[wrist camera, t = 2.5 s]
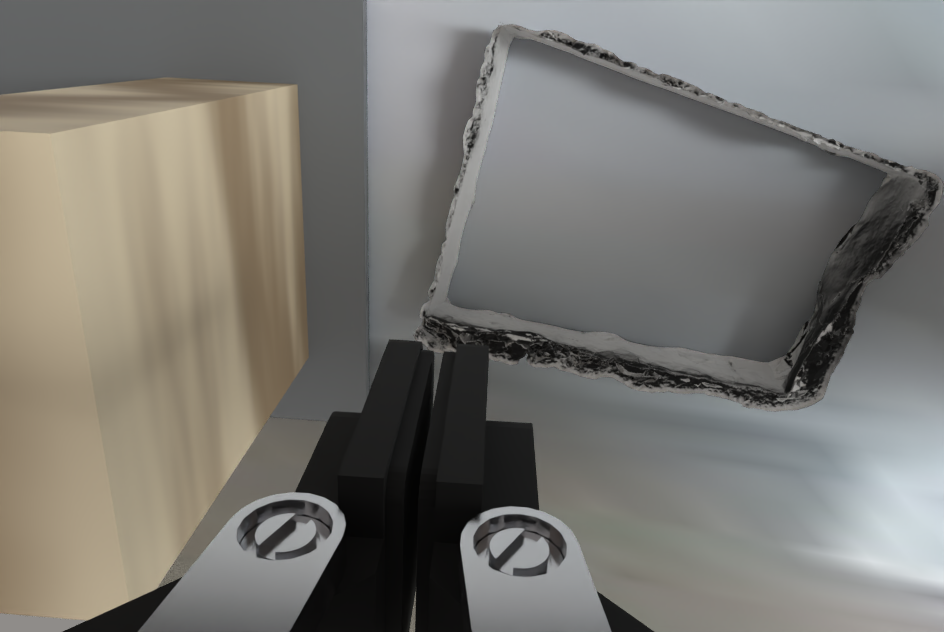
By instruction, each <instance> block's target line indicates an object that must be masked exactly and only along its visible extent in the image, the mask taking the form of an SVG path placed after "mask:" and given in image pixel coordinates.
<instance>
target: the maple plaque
mask: <svg viewBox="0 0 944 632" xmlns="http://www.w3.org/2000/svg"><path fill="white" fill-rule="evenodd" d="M308 358H309V349H308V325H307V301H306V277H305V254H304V230H303V206H302V182H301V158H300V134H299V110H298V86H297V84H281V83H263V82H244V81H225V80H207V79H188V78H170V77H165V78H155V79H146V80H136V81H127V82H117V83H108V84H98V85H89V86H79V87H70V88H60V89H51V90H41V91H31V92H22V93H12V94H3V95H0V613H4V614H5V613H6V614H16V615H28V616H40V617H52V618H64V619H75V620H90V619H92V618H94V617H96V616H98V615H101V614H103V613H105V612H107V611H109V610H111V609H114V608H116V607H118V606H120V605H122V604H125V603H127V602H129V601H131V600H133V599H136V598H138V597H140V596H142V595H144V594H147V593H149V592H151V591H153V590H155V589H157V587H158V586H159V584H160V583H161V581H162V580H163V578H164V577H165V575H166V574H167V572H168V571H169V569H170V568H171V566H172V565H173V563H174V562H175V560H176V559H177V557H178V555H179V554H180V552H181V551H182V549H183V548H184V546H185V545H186V543H187V542H188V540H189V539H190V537H191V536H192V534H193V533H194V531H195V530H196V528H197V527H198V525H199V524H200V522H201V520H202V519H203V517H204V516H205V514H206V513H207V511H208V510H209V508H210V507H211V505H212V504H213V502H214V501H215V499H216V498H217V496H218V495H219V493H220V492H221V490H222V489H223V487H224V485H225V484H226V482H227V481H228V479H229V478H230V476H231V475H232V473H233V472H234V470H235V469H236V467H237V466H238V464H239V463H240V461H241V460H242V458H243V457H244V455H245V453H246V452H247V450H248V449H249V447H250V446H251V444H252V443H253V441H254V440H255V438H256V437H257V435H258V434H259V432H260V431H261V429H262V428H263V426H264V425H265V423H266V422H267V420H268V418H269V417H270V415H271V414H272V412H273V411H274V409H275V408H276V406H277V405H278V403H279V402H280V400H281V399H282V397H283V396H284V394H285V393H286V391H287V390H288V388H289V387H290V385H291V383H292V382H293V380H294V379H295V377H296V376H297V374H298V373H299V371H300V370H301V368H302V367H303V365H304V364H305V362H306V361H307V359H308Z"/></svg>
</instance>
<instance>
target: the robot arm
mask: <svg viewBox="0 0 944 632" xmlns="http://www.w3.org/2000/svg"><path fill="white" fill-rule="evenodd" d="M488 362H489V346H488V345H472V344H457V348H456V352H447V351H444V353H443V359H442V364H441V369H440V374H439V380H438V385H437V390H436V395H435V401H434V406H433V388H434V351H430V350H423V344H422V342H421V341H405V340H389V341H388V344H387V347H386V349H385V352H384V354H383V357H382V360H381V362H380V365H379V368H378V370H377V373H376V375H375V378H374V381H373V383H372V386H371V389H370V391H369V394H368V396H367V399H366V402H365V404H364V407H363V410H362V412H361V413H358V412H342V411H334V412H333V413H332V414H331V416H330V418H329V420H328V422H327V424H326V426H325V428H324V431H323V433H322V435H321V437H320V439H319V441H318V444H317V446H316V448H315V450H314V452H313V454H312V457H311V459H310V461H309V463H308V465H307V467H306V470H305V472H304V474H303V476H302V478H301V481H300V483H299V485H298V487H297V489H296V491H295V492H290V493H282V494H274V495H271V496H268V497H265V498H261V499H258V500H256V501H254V502H252V503H250V504H249V505H247V506H245V507H243V508H242V509H240V510H239V511H238V512H237V513H236V514H235V515H234V516H233V517H232V518H231V519H230V520H229V521H228V522H227V523H226V525H225V526H224V527H223V528H222V530H221V531H220V532H219V533H218V534H217V536H216V537H215V538H214V539H213V541H212V542H211V543H210V544H209V545H208V547H207V548H206V549H205V550H204V552H203V553H202V554H201V555H200V556H199V558H198V559H197V560H196V561H195V563H194V564H193V565H192V566H191V567H190V569H189V570H188V571H187V572H186V574H185V575H184V576H183V577H182V578H180V579H177V580H175V581H173V582H171V583H169V584H166V585H164V586H162V587H160V588H158V589H155V590H153V591H151V592H149V593H147V594H144V595H142V596H140V597H138V598H136V599H133V600H131V601H129V602H127V603H125V604H122V605H120V606H118V607H116V608H114V609H111V610H109V611H107V612H105V613H103V614H101V615H98V616H96V617H94V618H92V619H90V620H87V621H85V622H83V623H81V624H79V625H76V626H75V627H72V628H70V629H68V630H65V631H63V632H409V628H410V622H411V616H412V609H413V603H414V597H415V591H416V622H415V632H654V631H652V630H651V629H650V628H648V627H647V626H645V625H644V624H643V623H641V622H640V621H638V620H637V619H635V618H634V617H633V616H631V615H630V614H628V613H627V612H626V611H624V610H623V609H621V608H620V607H619V606H617V605H616V604H614V603H613V602H611V601H610V600H609V599H607V598H606V597H604V596H603V595H602V594H600V593H599V592H597V591H596V588H595V586H594V583H593V580H592V577H591V575H590V572H589V569H588V567H587V564H586V561H585V559H584V556H583V553H582V550H581V548H580V545H579V542H578V540H577V539H576V537H575V535H574V534H573V532H572V530H571V529H570V528H569V527H567V526H566V525H565V524H564V523H563V522H562V521H560V520H559V519H557V518H555V517H553V516H551V515H549V514H547V513H545V512H542V511H539V503H538V490H537V477H536V463H535V450H534V437H533V426H532V423H518V422H502V421H486V405H487V383H488Z"/></svg>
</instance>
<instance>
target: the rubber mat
mask: <svg viewBox="0 0 944 632" xmlns="http://www.w3.org/2000/svg"><path fill="white" fill-rule="evenodd" d="M165 77H170V78H188V79H207V80H225V81H244V82H263V83H281V84H297V86H298V110H299V134H300V158H301V182H302V206H303V230H304V254H305V277H306V301H307V325H308V349H309V358H308V359H307V361H306V362H305V364H304V365H303V367H302V368H301V370H300V371H299V373H298V374H297V376H296V377H295V379H294V380H293V382H292V383H291V385H290V387H289V388H288V390H287V391H286V393H285V394H284V396H283V397H282V399H281V400H280V402H279V403H278V405H277V406H276V408H275V409H274V411H273V412H272V414H271V415H270V417H274V418H288V419H302V420H316V421H328V420H329V418H330V416H331V414H332V413H333V412H334V411H342V412H358V413H361V412H362V410H363V407H364V404H365V402H366V399H367V396H368V394H369V302H368V165H367V27H366V0H0V95H3V94H12V93H22V92H31V91H41V90H51V89H60V88H70V87H79V86H89V85H98V84H108V83H117V82H127V81H136V80H146V79H155V78H165Z"/></svg>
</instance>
